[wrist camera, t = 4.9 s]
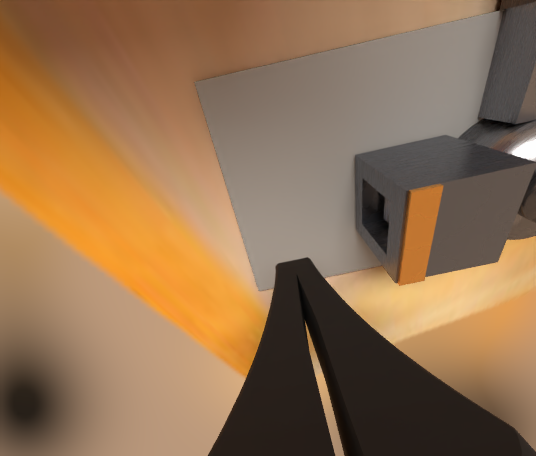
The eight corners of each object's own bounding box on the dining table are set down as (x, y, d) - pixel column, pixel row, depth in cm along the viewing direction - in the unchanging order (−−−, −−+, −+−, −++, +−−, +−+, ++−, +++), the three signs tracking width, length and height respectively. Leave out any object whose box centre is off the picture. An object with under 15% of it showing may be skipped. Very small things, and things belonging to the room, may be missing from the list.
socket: (445, 134, 14) (542, 163, 9) (430, 213, 16) (501, 264, 12) (355, 154, 14) (409, 193, 9) (355, 229, 16) (397, 286, 12)
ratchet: (681, -217, 8) (1015, -436, 5) (518, 198, 16) (595, 232, 13) (383, -141, 8) (485, -295, 5) (370, 230, 17) (405, 272, 13)
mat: (582, -9, 11) (590, -12, 11) (492, 239, 19) (495, 241, 18) (195, 81, 12) (194, 81, 11) (258, 288, 19) (258, 291, 19)
